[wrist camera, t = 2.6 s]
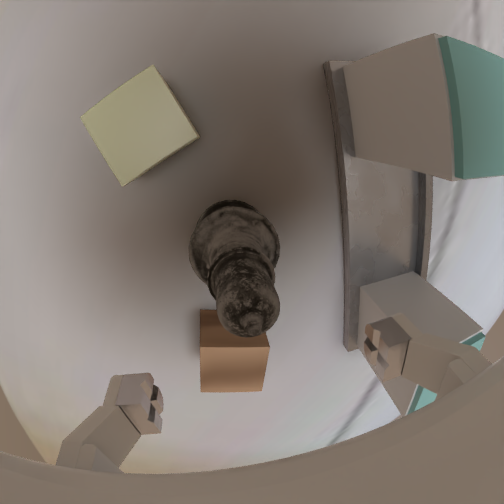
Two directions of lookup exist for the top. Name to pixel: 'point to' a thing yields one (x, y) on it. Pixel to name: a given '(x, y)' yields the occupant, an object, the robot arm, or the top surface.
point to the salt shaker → (238, 266)
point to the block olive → (139, 125)
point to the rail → (375, 211)
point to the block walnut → (230, 358)
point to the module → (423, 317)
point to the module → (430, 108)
